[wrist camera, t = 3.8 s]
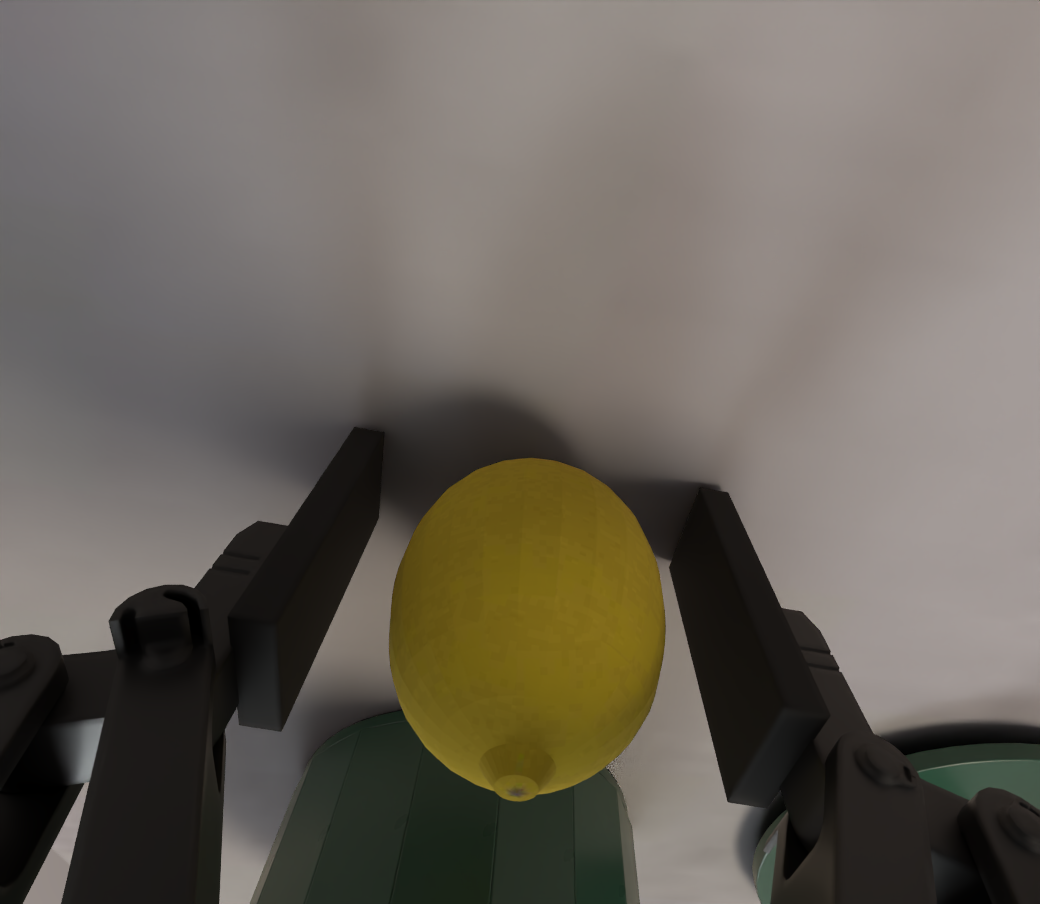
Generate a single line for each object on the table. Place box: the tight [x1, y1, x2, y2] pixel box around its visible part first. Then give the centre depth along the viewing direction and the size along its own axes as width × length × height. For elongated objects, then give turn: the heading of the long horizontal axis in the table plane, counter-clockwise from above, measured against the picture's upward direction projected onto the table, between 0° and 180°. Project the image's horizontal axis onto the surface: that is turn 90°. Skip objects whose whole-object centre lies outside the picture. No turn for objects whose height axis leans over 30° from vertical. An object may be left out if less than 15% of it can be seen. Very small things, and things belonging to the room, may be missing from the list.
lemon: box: [389, 458, 666, 801], centre depth 12 cm, size 6×6×8 cm
